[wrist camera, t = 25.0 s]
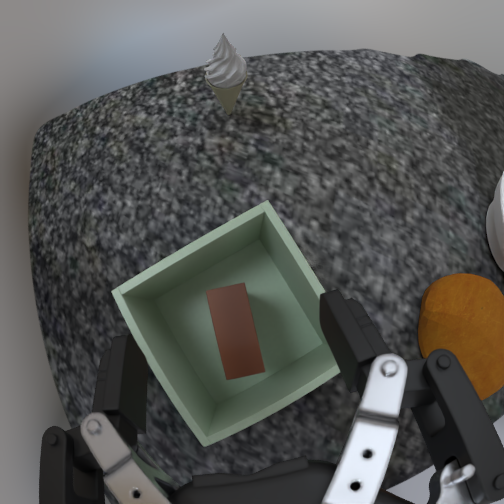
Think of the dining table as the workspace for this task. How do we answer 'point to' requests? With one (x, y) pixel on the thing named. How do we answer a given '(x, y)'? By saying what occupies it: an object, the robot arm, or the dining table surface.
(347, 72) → the dining table surface
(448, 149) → the dining table surface
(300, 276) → the trash bin
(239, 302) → the chocolate bar
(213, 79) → the ice cream cone
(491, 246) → the bowl
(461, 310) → the bread
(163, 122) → the dining table surface
